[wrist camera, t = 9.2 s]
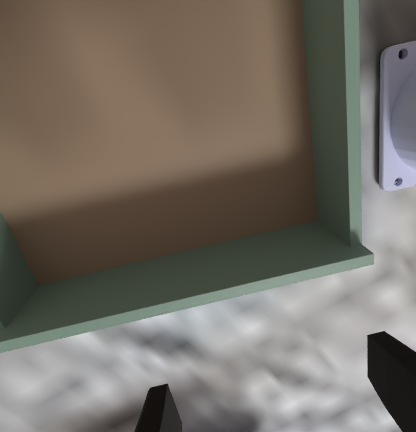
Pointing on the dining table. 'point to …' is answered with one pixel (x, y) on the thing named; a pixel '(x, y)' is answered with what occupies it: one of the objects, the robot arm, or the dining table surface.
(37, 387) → the dining table surface
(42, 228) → the green shallow tray
